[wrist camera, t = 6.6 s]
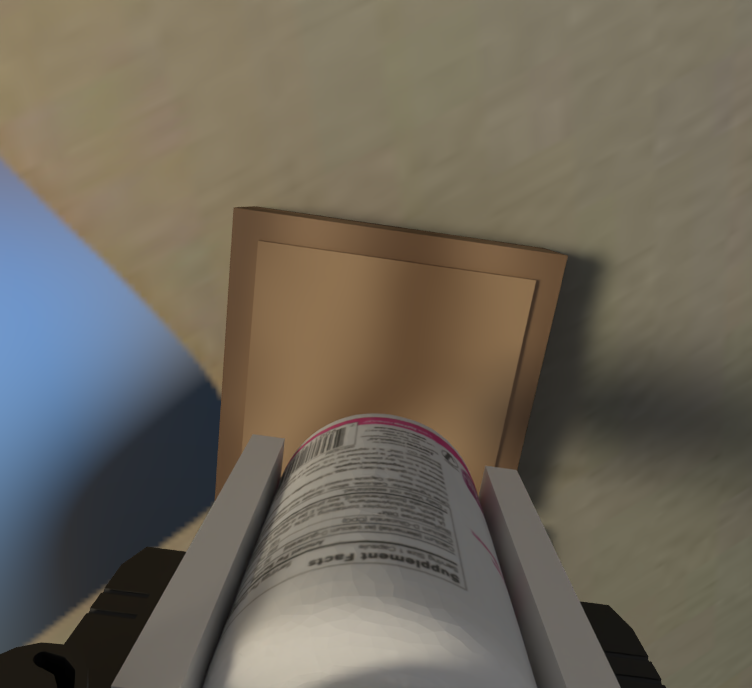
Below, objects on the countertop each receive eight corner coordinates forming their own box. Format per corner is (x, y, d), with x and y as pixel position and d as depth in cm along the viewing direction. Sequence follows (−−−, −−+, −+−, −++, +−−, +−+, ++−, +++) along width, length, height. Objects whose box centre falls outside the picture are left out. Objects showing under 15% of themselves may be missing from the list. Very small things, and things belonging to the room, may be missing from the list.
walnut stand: (234, 468, 25) (212, 507, 21) (254, 206, 21) (231, 207, 18) (486, 501, 25) (501, 545, 22) (543, 248, 22) (570, 256, 18)
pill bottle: (470, 580, 13) (594, 1166, 5) (285, 576, 14) (130, 1143, 5) (481, 408, 12) (666, 830, 4) (277, 404, 12) (57, 811, 4)
